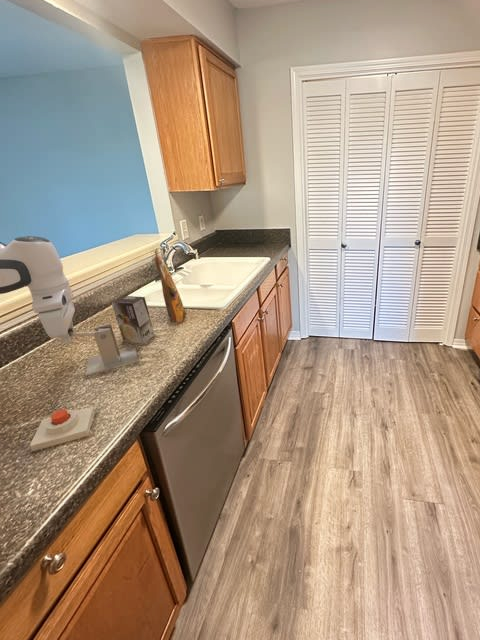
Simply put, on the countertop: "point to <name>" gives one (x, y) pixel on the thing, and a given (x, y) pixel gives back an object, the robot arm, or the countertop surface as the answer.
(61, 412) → the button
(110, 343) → the toaster bracket
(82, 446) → the countertop surface
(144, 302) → the coffee box
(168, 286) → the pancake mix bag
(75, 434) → the control block
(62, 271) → the robot arm
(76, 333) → the toast lever
